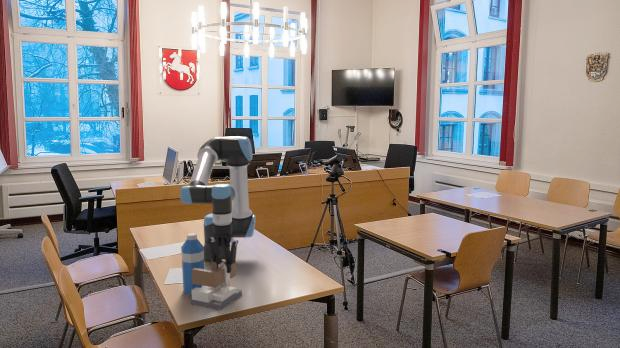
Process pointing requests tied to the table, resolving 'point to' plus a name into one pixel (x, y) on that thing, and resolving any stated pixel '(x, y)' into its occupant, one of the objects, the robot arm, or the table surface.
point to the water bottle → (191, 261)
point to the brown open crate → (212, 275)
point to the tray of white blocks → (215, 295)
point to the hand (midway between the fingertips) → (224, 279)
